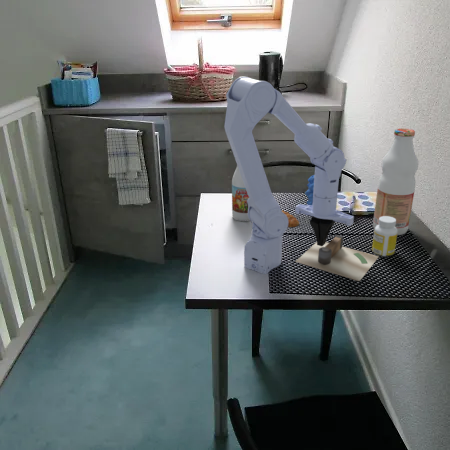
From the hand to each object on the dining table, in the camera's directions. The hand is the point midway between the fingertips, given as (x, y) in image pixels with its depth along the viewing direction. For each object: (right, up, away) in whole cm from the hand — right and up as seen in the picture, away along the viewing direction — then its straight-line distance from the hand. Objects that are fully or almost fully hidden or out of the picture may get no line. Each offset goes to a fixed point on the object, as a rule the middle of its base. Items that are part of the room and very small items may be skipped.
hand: (321, 244), depth 112 cm
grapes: (+3, +9, +24) cm, 26 cm away
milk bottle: (-18, +7, +22) cm, 30 cm away
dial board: (+3, -4, -4) cm, 7 cm away
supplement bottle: (+15, -3, -1) cm, 16 cm away
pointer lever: (+2, -2, -3) cm, 4 cm away
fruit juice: (+22, +4, +12) cm, 25 cm away
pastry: (-8, +5, +17) cm, 19 cm away
